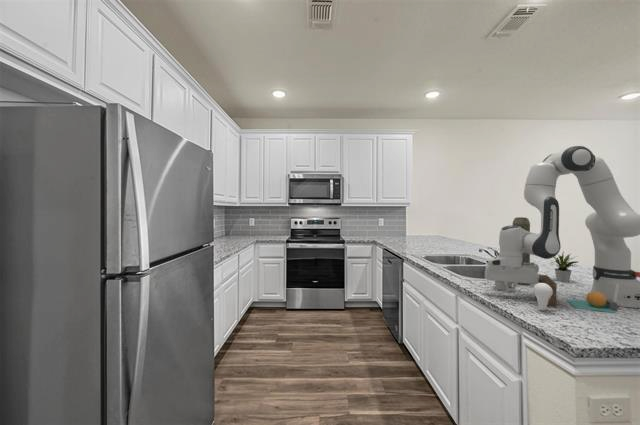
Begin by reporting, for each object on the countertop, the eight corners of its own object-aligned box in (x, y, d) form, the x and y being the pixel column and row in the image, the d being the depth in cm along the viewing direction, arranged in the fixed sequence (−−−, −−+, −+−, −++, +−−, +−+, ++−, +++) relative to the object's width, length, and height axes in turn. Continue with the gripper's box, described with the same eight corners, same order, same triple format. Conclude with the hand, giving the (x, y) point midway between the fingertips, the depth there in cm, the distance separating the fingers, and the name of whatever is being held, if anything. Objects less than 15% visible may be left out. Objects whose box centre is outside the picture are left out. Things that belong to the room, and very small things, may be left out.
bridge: (546, 296, 130) (546, 275, 130) (556, 307, 117) (556, 283, 117) (538, 295, 132) (538, 274, 131) (547, 305, 118) (547, 282, 118)
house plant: (551, 283, 151) (552, 252, 151) (539, 277, 164) (539, 248, 164) (584, 285, 147) (584, 253, 147) (569, 278, 161) (569, 249, 160)
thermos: (532, 282, 154) (533, 217, 153) (528, 286, 146) (529, 218, 145) (513, 279, 160) (513, 217, 159) (508, 283, 152) (508, 217, 151)
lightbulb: (553, 314, 109) (554, 286, 108) (533, 311, 112) (534, 283, 112) (551, 309, 114) (551, 282, 114) (532, 306, 117) (532, 280, 117)
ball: (593, 287, 120) (580, 295, 122) (600, 290, 114) (585, 299, 116) (606, 299, 118) (592, 307, 120) (613, 303, 112) (598, 311, 114)
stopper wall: (609, 306, 117) (610, 298, 117) (617, 311, 112) (617, 303, 112) (603, 305, 118) (603, 298, 118) (610, 310, 113) (610, 302, 113)
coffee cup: (517, 292, 137) (518, 261, 136) (497, 291, 139) (497, 260, 138) (509, 286, 146) (509, 257, 145) (489, 285, 148) (490, 257, 147)
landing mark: (601, 303, 121) (601, 302, 121) (615, 313, 110) (615, 312, 110) (565, 299, 126) (565, 298, 126) (575, 308, 115) (575, 307, 115)
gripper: (537, 261, 128) (536, 292, 128) (484, 258, 137) (484, 287, 137) (540, 264, 122) (540, 296, 123) (485, 260, 131) (485, 290, 131)
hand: (510, 291), depth 130 cm, fingers closed
